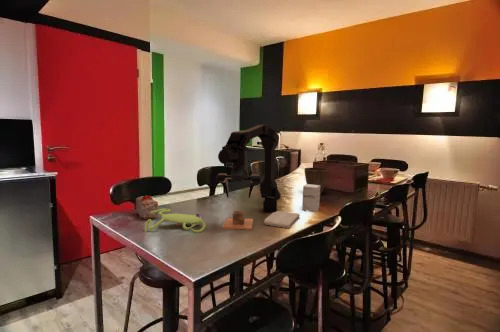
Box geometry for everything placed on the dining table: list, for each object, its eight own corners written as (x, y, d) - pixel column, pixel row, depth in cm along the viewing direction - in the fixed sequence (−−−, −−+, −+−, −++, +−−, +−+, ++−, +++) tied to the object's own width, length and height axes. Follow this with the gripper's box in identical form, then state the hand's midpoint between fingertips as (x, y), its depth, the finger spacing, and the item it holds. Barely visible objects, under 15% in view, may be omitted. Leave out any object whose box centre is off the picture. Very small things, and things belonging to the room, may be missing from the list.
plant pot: (299, 191, 194) (300, 167, 192) (319, 190, 198) (320, 167, 196) (310, 196, 180) (311, 171, 178) (331, 195, 184) (333, 170, 182)
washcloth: (300, 218, 139) (300, 212, 139) (289, 230, 123) (290, 223, 122) (276, 215, 144) (276, 209, 143) (263, 226, 127) (263, 219, 127)
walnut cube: (244, 221, 130) (244, 211, 129) (243, 224, 125) (243, 214, 124) (234, 220, 130) (234, 210, 129) (232, 224, 125) (232, 213, 125)
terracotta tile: (253, 220, 133) (253, 218, 133) (251, 229, 121) (251, 228, 121) (226, 219, 134) (226, 218, 134) (222, 228, 122) (222, 227, 122)
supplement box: (301, 209, 152) (302, 185, 150) (306, 206, 158) (306, 183, 156) (315, 212, 148) (316, 187, 146) (319, 208, 155) (320, 184, 153)
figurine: (154, 218, 136) (153, 206, 135) (211, 219, 135) (211, 207, 134) (137, 232, 118) (136, 219, 117) (203, 234, 116) (203, 220, 116)
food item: (160, 218, 135) (160, 197, 134) (143, 221, 130) (142, 200, 129) (149, 211, 145) (148, 192, 144) (133, 214, 140) (132, 194, 139)
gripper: (213, 163, 117) (213, 201, 119) (260, 164, 116) (259, 203, 118) (218, 160, 128) (218, 195, 130) (261, 161, 127) (260, 196, 129)
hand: (238, 197), depth 126 cm, fingers open, 9 cm apart
